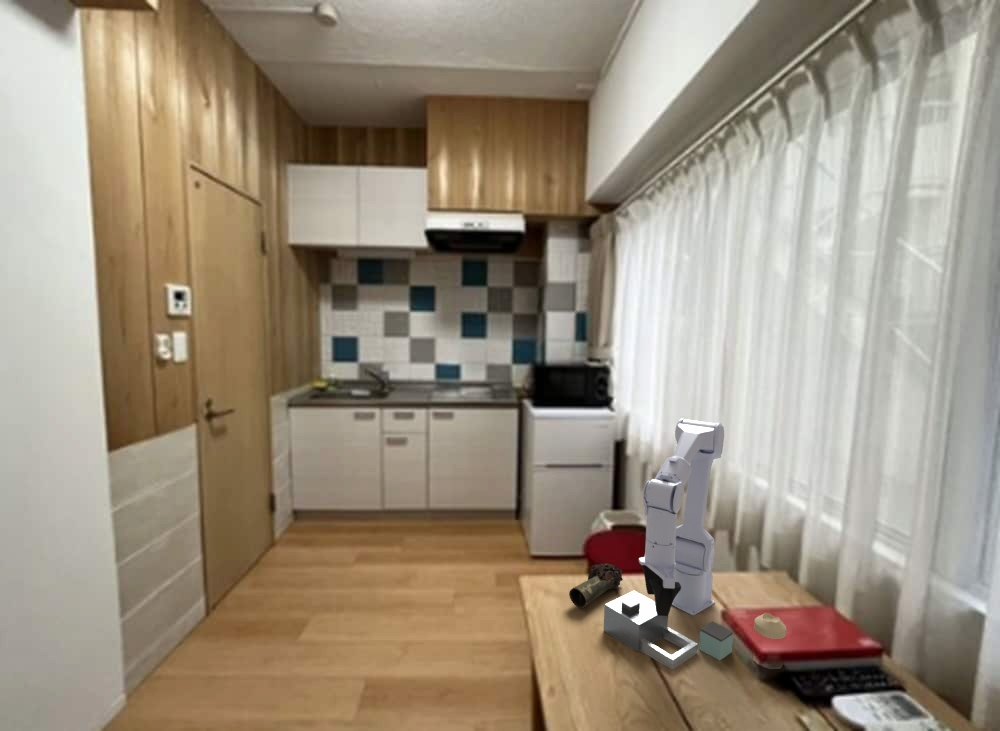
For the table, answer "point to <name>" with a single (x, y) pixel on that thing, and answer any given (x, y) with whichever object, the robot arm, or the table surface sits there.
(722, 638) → the mint cube
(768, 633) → the candle
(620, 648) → the table surface
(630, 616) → the silver box with frame
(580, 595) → the olive hollow tube
